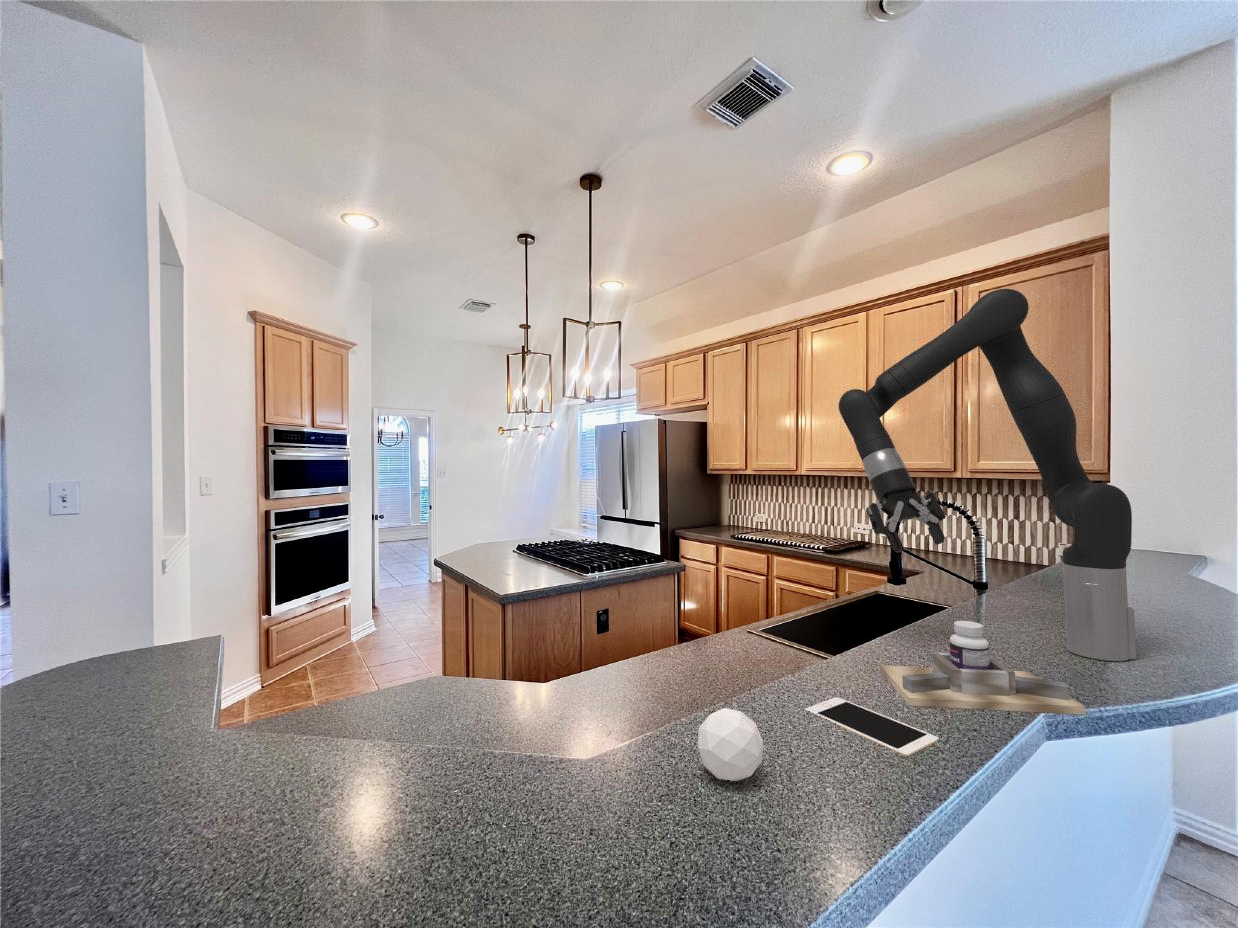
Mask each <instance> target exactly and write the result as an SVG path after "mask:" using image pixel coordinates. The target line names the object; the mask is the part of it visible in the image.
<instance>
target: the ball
mask: <svg viewBox="0 0 1238 928" xmlns="http://www.w3.org/2000/svg"><path fill="white" fill-rule="evenodd" d="M697 748H698V751H699V752H698V753H699V754H700V758H701V760H702V765H703V766H704V767H705V768H706V769H707V770H708V771H709V772H710V773H712V775H714V777H715V778H716V779H718V780H722V779H723V780H722V781H727V780H730V781H729V782H732V781H737V782H739V780H740V781H742V780H744V779H747V778H749V777H752V776H753V774H754V773H755V771H756V770H757V768H758V767H759V766H760V765H761V763H762V762H763V752H764V751H763V750H764V741H763V738H762V735H761V733H760V731H759V728H758V726H757V723H756V722H755V721H753V719H752V718H750V717H749V716H748V715H746V714H745V713H744V712H742V711H740V710H735V709H731V708H726V707H723V708H721V709H719V710H717V711H715V712H713V713H711V714H709V715H708V716H707V717H706V718H705V720H704V721H703V722H702V723H701V725H700V726H699V727H698V736H697Z"/></svg>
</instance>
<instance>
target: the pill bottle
mask: <svg viewBox="0 0 1238 928" xmlns="http://www.w3.org/2000/svg"><path fill="white" fill-rule="evenodd" d="M953 630H954V634H952V635H951V636H950V638H949V653H950V662H951V663H952V664H953V665H955V666H956V667H957V668H959V669H978V670H990V661H989V656H990V643H989V641H988V640H987V639H986V638H985V637H983V635H984V626H983V624H982V623H979V622H976V621H971V620H970V621H968V620H957V621H954V622H953Z"/></svg>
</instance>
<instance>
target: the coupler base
mask: <svg viewBox="0 0 1238 928" xmlns="http://www.w3.org/2000/svg"><path fill="white" fill-rule="evenodd" d="M931 655H932V656H931V658H932V662H931V663H932V667H928V666H927V667H923V666H921V667H920V666H902V665H901V666H900V665H899V666H898V665H897V666H895V665H880V666H879V668H880V671H879V672H880V674H882V676H883V678H885V680H887V681H888V683H889V684H890V685H891V686H892V687H893V688H894V689H895V691H896V692H897V693H898V694H899V695H900V697H901V698H902V699H903V700H904V701H905V702H906V703H907V705H908V706H910V707H925V708H926V707H929V708H947V709H948V708H949V709H965V710H966V709H969V710H970V709H971V710H986V711H988V710H989V711H1003V712H1004V711H1005V712H1024V713H1025V712H1026V713H1027V712H1028V713H1043V714H1060V715H1061V714H1063V715H1082V716H1084V715H1087V714H1086V711H1087V710H1086V706H1085V705H1083V704H1082V703H1080V702H1078V701H1077V700H1076V699H1074V698H1072V697H1071V696H1069V689H1068V688H1069V687H1068V686H1067V684H1066V682H1064V681H1057V680H1050V679H1043V678H1042V679H1041V678H1040V677H1038V676H1037V675H1035V674H1033V673H1032V672H1031V671H1028V670H1027V671H1023V670H1012V669H1011V668H1009V667H1008V666H1006V665H1004V664H1003V663H1002V662H1000V661H999V660H996V659H995V658H994V657H992V656H990V655H989V661H990V670H978V669H959V668H957V667H956V666H955V665H953V664H952V663H951V662H950V652H938V653H931Z"/></svg>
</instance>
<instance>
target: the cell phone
mask: <svg viewBox="0 0 1238 928" xmlns="http://www.w3.org/2000/svg"><path fill="white" fill-rule="evenodd" d="M806 710H807V711H806ZM805 711H806V712H808V711H810V712H811V713H810V712H809V713H810V714H812V713H814V714H817V715H818V716H817V717H819V716H821V717H823V718H825V719H827V720H830V721H831V722H830V721H829V722H830V723H832V722H833V723H832V724H834V723H836V724H837V726H838V725H839V726H838V727H840V728H843V729H846V731H847V730H848V731H850V732H851V733H854V734H856V735H858V736H861V737H863V738H864V739H866V740H869V741H871V742H874V743H876V744H878V745H881V746H883V747H884V748H887V749H889V750H892V751H894V752H896V753H898V754H900V755H903V756H906V757H909V756H911V755H913V754H915V753H917V752H919V751H922V750H923V749H925V748H927V747H929V746H931V745H933V744H935V743H937V742H939V737H938V736H936V735H933V734H931V733H930V732H929V733H928V732H926V731H924V730H921V729H919V728H916V727H914V726H911V725H909V724H906V723H904V722H902V721H899V720H896V719H893V718H891V717H888V716H886V715H883V714H881V713H879V712H876V711H874V710H871V709H868V708H866V707H864V706H861V705H859V704H856V703H853V702H851V701H848V700H846V699H843V698H841V697H833V698H830V699H827V700H824V701H821V702H819V703H816V704H814V705H812V706H811V705H810V706H809V707H806V708H805ZM814 714H813V715H814ZM821 717H820V718H821ZM823 718H822V719H823ZM825 719H824V720H825ZM827 720H826V721H827ZM836 724H835V725H836Z"/></svg>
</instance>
